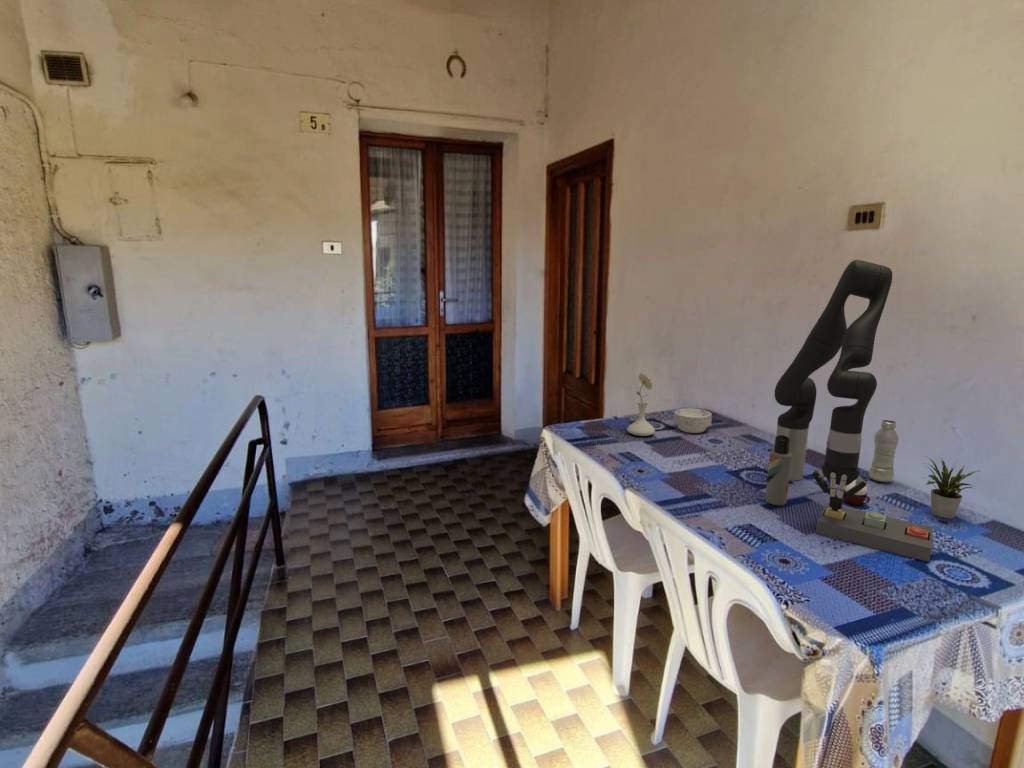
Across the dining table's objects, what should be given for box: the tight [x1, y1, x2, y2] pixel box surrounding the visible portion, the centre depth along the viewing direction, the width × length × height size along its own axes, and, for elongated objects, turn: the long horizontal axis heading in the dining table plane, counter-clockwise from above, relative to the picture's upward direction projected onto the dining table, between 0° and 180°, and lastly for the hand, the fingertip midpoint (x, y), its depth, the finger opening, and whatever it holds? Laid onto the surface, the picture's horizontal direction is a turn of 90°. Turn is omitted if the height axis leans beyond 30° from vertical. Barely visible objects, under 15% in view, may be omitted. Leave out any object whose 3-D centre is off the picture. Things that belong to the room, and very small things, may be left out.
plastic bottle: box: [868, 419, 900, 483], centre depth 181 cm, size 6×7×20 cm
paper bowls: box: [673, 408, 713, 434], centre depth 238 cm, size 15×15×8 cm
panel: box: [815, 503, 934, 563], centre depth 145 cm, size 24×14×4 cm, turn 53°
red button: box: [906, 526, 928, 540], centre depth 140 cm, size 4×4×4 cm
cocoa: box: [843, 479, 871, 506], centre depth 166 cm, size 10×6×12 cm, turn 2°
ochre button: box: [824, 508, 845, 520], centre depth 150 cm, size 4×4×4 cm
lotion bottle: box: [765, 435, 792, 507], centre depth 164 cm, size 6×6×20 cm
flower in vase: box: [626, 372, 656, 437], centre depth 231 cm, size 13×11×25 cm
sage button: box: [864, 511, 887, 530], centre depth 145 cm, size 4×4×4 cm
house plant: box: [920, 455, 980, 519], centre depth 158 cm, size 14×14×16 cm
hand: (834, 509), depth 150 cm, fingers closed
